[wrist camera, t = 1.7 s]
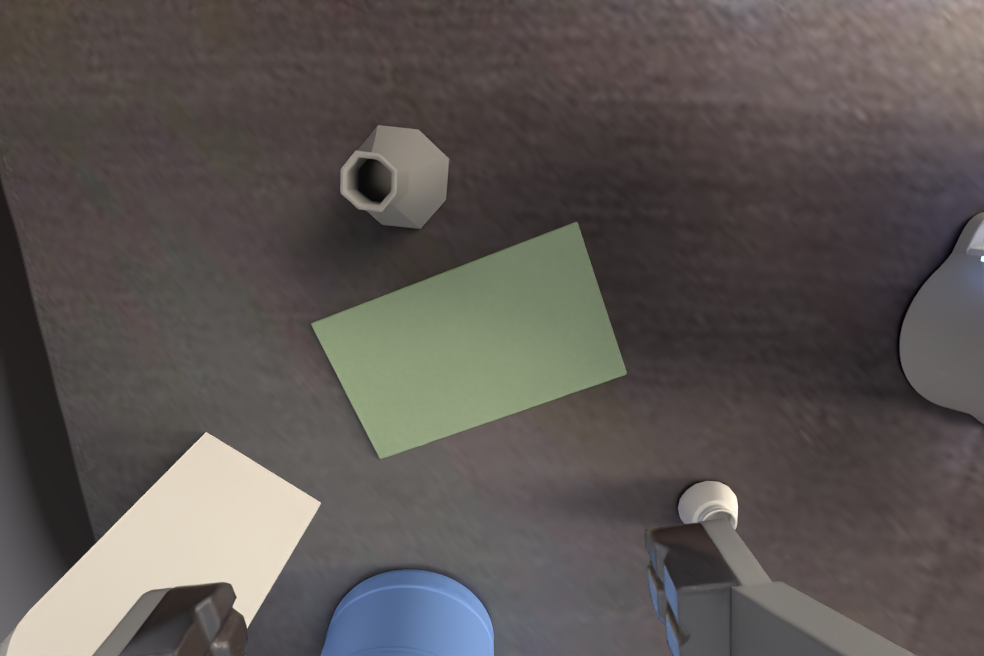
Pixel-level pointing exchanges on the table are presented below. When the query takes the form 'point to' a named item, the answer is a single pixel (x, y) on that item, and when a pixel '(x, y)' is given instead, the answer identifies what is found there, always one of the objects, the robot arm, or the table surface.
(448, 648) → the water jug
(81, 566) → the milk
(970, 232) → the robot arm
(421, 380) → the placemat
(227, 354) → the table surface
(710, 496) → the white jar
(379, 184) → the flask
